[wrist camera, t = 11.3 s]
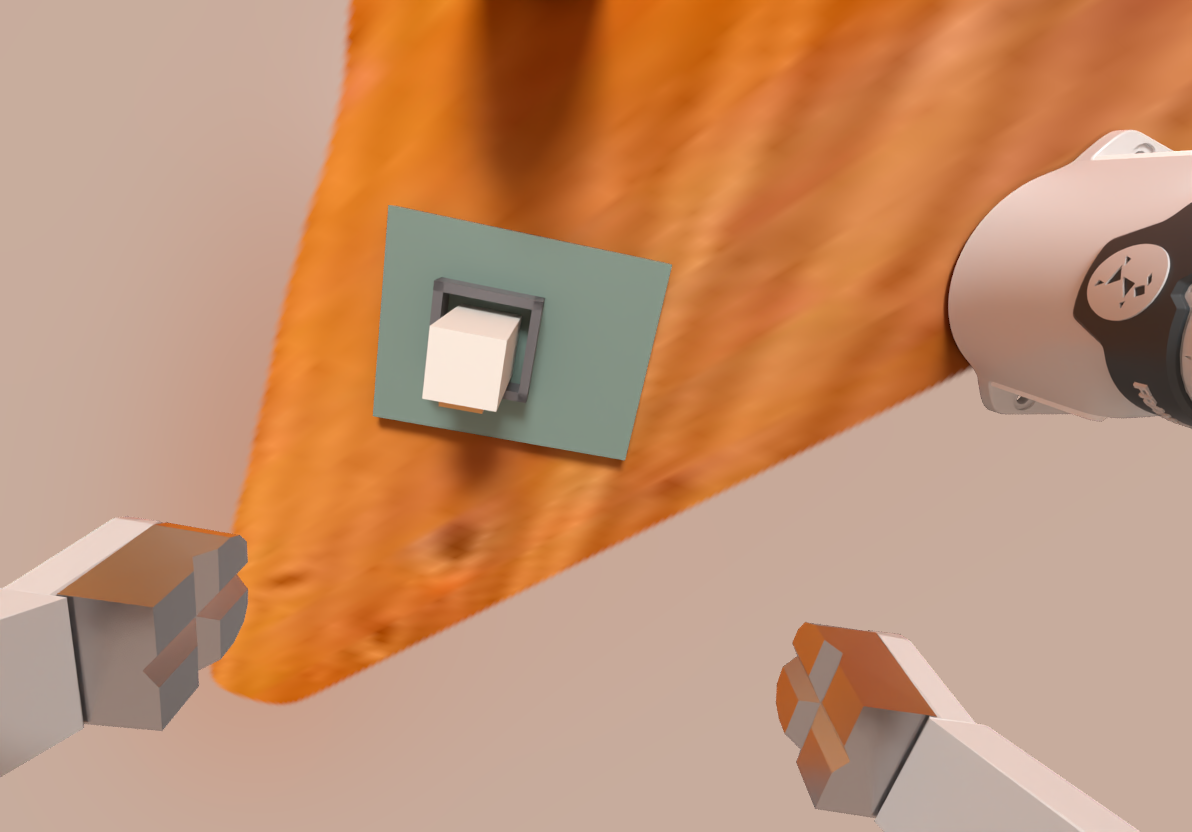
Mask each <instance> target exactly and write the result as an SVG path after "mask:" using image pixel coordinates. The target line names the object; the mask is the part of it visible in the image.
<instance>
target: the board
mask: <svg viewBox="0 0 1192 832" xmlns="http://www.w3.org/2000/svg"><path fill="white" fill-rule="evenodd" d="M671 267H672V265H671V264H668V263H664V262H659V261H654V260H650V259H645V258H640V257H635V256H631V255H626V254H621V253H616V252H612V251H607V250H602V249H597V248H593V247H588V246H583V245H579V244H574V243H569V242H564V241H560V240H555V239H550V238H545V237H541V236H536V235H531V234H527V233H522V232H517V231H512V230H508V229H503V228H498V227H493V226H489V225H484V224H479V223H475V222H470V221H465V220H460V219H456V218H451V217H446V216H441V215H437V214H432V213H427V212H423V211H418V210H413V209H408V208H404V207H399V206H393V205H389V206H388V220H387V233H386V247H385V260H384V274H383V287H382V301H381V314H380V327H379V341H378V354H377V368H376V381H375V395H374V408H373V416H375V417H381V418H387V419H392V420H398V421H404V422H409V423H415V424H421V425H426V426H432V427H438V428H443V429H449V430H455V431H460V432H466V433H472V434H478V435H483V436H489V437H495V438H500V439H506V440H512V441H517V442H523V443H529V444H534V445H540V446H546V447H551V448H557V449H563V450H569V451H574V452H580V453H586V454H591V455H597V456H603V457H608V458H614V459H620V460H625V458H626V454H627V450H628V446H629V442H630V438H631V433H632V429H633V425H634V421H635V417H636V413H637V409H638V404H639V400H640V396H641V392H642V388H643V384H644V379H645V375H646V371H647V367H648V363H649V359H650V355H651V350H652V346H653V342H654V338H655V334H656V330H657V326H658V321H659V317H660V313H661V309H662V305H663V301H664V296H665V292H666V288H667V284H668V280H669V276H670V272H671ZM460 304H466V305H471V306H476V307H481V308H486V309H491V310H496V311H502V312H507V313H512V314H517V315H522V319H521V326H520V332H519V338H518V344H517V351H516V357H515V363H514V370H513V374H512V377H511V379H510V381H509V384H508V386H507V388H506V390H505V393H504V395H503V397H502V400H501V402H500V404H499V407H498V409H497V411H496V412H494V411H488V410H484V411H483V413H482V414H480V413H474V412H469V411H463V410H457V409H452V408H446V407H441V406H439V402H438V401H433V400H427V399H422V395H423V386H424V376H425V366H426V357H427V347H428V338H429V328H430V325H432V324H433V323H434V322H436V321H437V320H439V319H440V318H442V317H443V316H444V315H446V314H447V313H449V312H450V311H451V310H453V309H454V308H456V307H457V306H458V305H460Z"/></svg>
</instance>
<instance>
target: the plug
mask: <svg viewBox="0 0 1192 832" xmlns="http://www.w3.org/2000/svg"><path fill="white" fill-rule="evenodd" d="M521 319H522V315H517V314H512V313H507V312H502V311H496V310H491V309H486V308H481V307H476V306H471V305H466V304H460V305H458V306H457V307H456V308H454V309H453V310H451V311H450V312H449V313H447V314H446V315H444V316H443V317H442V318H440V319H439V320H437V321H436V322H434V323H433V324H432V325H430V328H429V338H428V347H427V357H426V366H425V376H424V386H423V395H422V399H427V400H433V401H438V402H439V406H441V407H446V408H452V409H457V410H463V411H469V412H474V413H480V414H482V413H483V411H484V410H488V411H494V412H496V411H497V409H498V407H499V404H500V402H501V400H502V397H503V395H504V393H505V390H506V388H507V386H508V384H509V381H510V379H511V377H512V374H513V370H514V363H515V357H516V351H517V344H518V338H519V332H520V326H521Z"/></svg>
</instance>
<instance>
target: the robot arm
mask: <svg viewBox="0 0 1192 832" xmlns="http://www.w3.org/2000/svg"><path fill="white" fill-rule="evenodd" d="M948 312H949V322H950V327H951V331H952V334H953V337H954V340H955V342H956V344H957V346H958V348H959V350H960V351H961V353H962V354H963V356H964V357H965V358H966V360H967V361H968V362H969V363H970V365H971V366H972V367H973V369H974V370H975V372H976V374H977V376H978V384H979V389H980V395H981V399H982V402H983V404H984V406H985V407H986V408H987V409H989V410H991V411H994V412H997V413H1001V414H1074V415H1077V416H1080V417H1083V418H1086V419H1089V420H1094V421H1103V420H1104V419H1106V418H1107V417H1110V418H1136V417H1150V416H1162V417H1163V418H1165V419H1167V420H1168V421H1172V422H1173V423H1176V424H1179V425H1182V426H1185V427H1189V428H1192V150H1190V151H1173V150H1171V149H1169V148H1167V147H1166V146H1164V145H1162V144H1160V143H1158V142H1157V141H1155V140H1153V139H1151V138H1150V137H1148V136H1146V135H1144V134H1143V133H1141V132H1139V131H1136V130H1117V131H1113V132H1110V133H1108V134H1106V135H1105V136H1103V137H1102V138H1100V139H1099V140H1098V141H1096V142H1095V143H1094V144H1093V145H1091V146H1090V147H1089V148H1088V149H1087V150H1086V151H1085V152H1083V153H1082V154H1081V155H1080V156H1079V157H1078V158H1077V159H1076V160H1074V161H1073V162H1072V163H1070V164H1068V165H1066V166H1064V167H1062V168H1060V169H1058V170H1055V171H1053V172H1050V173H1048V174H1045V175H1043V176H1040V177H1038V178H1036V179H1034V180H1032V181H1030V182H1028V183H1026V184H1024V185H1023V186H1021V187H1020V188H1018V189H1016V190H1015V191H1014V192H1012V193H1011V194H1009V195H1008V196H1007V197H1005V198H1004V199H1003V200H1002V201H1001V202H999V203H998V204H997V205H996V206H995V207H994V208H993V209H992V210H991V211H990V212H989V213H988V214H987V215H986V217H985V218H984V219H983V220H982V221H981V222H980V224H979V225H978V226H977V228H976V229H975V230H974V232H973V233H972V235H971V236H970V238H969V239H968V241H967V243H966V245H965V246H964V248H963V250H962V252H961V254H960V257H959V259H958V261H957V264H956V267H955V269H954V273H953V276H952V280H951V285H950V291H949V300H948ZM1019 395H1020V396H1021V397H1020V398H1019V399H1018V400H1017V397H1018V396H1019ZM247 562H248V559H247V542H246V541H245V540H244V539H243V538H242V537H241V536H240V535H236V534H231V533H225V532H219V531H214V530H208V529H202V528H196V527H191V526H184V525H179V524H173V523H168V522H166V523H163V522H160V521H154V520H148V519H142V518H135V517H129V516H126V517H118V518H113V519H111V520H110V521H108V522H107V523H105V524H104V525H102V526H100V527H99V528H97V529H96V530H94V531H93V532H91V533H89V534H88V535H87V536H85V537H83V538H81V539H80V540H78V541H77V542H75V543H74V544H72V545H70V546H69V547H67V548H66V549H64V550H63V551H61V552H59V553H58V554H56V555H55V556H54V557H51V558H50V559H48V560H47V561H45V562H44V563H42V564H40V565H39V566H37V567H36V568H34V569H33V570H31V571H29V572H28V573H26V574H25V575H23V576H22V577H20V578H18V579H17V580H15V581H14V582H12V583H10V584H9V585H7V586H6V587H4V588H0V777H2V776H3V775H5V774H7V773H8V772H10V771H12V770H13V769H15V768H17V767H19V766H20V765H22V764H24V763H25V762H27V761H29V760H30V759H32V758H34V757H36V756H37V755H39V754H41V753H42V752H44V751H46V750H48V749H49V748H51V747H53V746H54V745H56V744H58V743H59V742H61V741H63V740H65V739H66V738H68V737H70V736H71V735H73V734H75V733H76V732H78V731H80V730H82V729H83V728H84V724H91V725H102V726H113V727H124V728H135V729H147V730H158V731H162V730H163V729H164V728H165V727H166V725H167V724H168V723H169V722H170V721H171V719H172V718H173V717H174V716H175V714H176V713H177V712H178V711H179V710H180V708H181V707H182V706H183V705H184V704H185V702H186V701H187V700H188V698H189V697H190V696H191V695H192V694H193V693H194V691H195V690H196V689H197V688H198V686H199V681H198V670H200V669H202V668H204V667H206V666H208V665H210V664H212V663H214V662H216V661H218V660H220V659H221V658H222V657H223V656H224V654H225V653H226V652H227V651H228V649H229V648H230V647H231V645H232V644H233V643H234V641H235V639H236V637H237V635H238V633H239V630H240V628H241V626H242V624H243V622H244V618H245V614H246V609H247V604H248V589H247V587H246V586H245V585H244V583H243V582H242V581H241V580H240V578H239V577H238V576H237V573H238V572H239V571H240V570H241V569H242V568H243V567H244V566H245V564H246V563H247ZM793 646H794V648H795V651H796V654H797V657H795V658H794V659H792V660H791V661H790V662H789V663H787V664H786V665H784V666H783V668H782V671H781V674H780V677H779V680H778V683H777V694H776V705H777V711H778V716H779V719H780V723H781V725H782V728H783V730H784V733H785V735H786V736H788V737H789V738H790V739H791V740H792V741H793V742H794V743H795V744H796V745H797V746H798V747H799V748H800V749H801V750H800V753H799V756H798V758H797V761H796V763H797V766H798V768H799V770H800V773H801V775H802V778H803V780H804V783H805V785H806V788H807V790H808V793H809V795H810V797H811V800H812V802H813V805H814V807H815V809H820V810H827V811H833V812H839V813H846V814H853V815H860V816H866V817H873V818H876V819H875V822H876V824H877V825H878V826H879V827H880V828H881V829H882V830H883V831H884V832H1140V831H1139V830H1137V829H1136V828H1135V827H1133V826H1132V825H1130V824H1129V823H1127V822H1126V821H1124V820H1123V819H1122V818H1120V817H1119V816H1117V815H1116V814H1114V813H1113V812H1111V811H1110V810H1109V809H1107V808H1106V807H1104V806H1102V805H1101V804H1100V803H1098V802H1097V801H1096V800H1094V799H1093V798H1091V797H1090V796H1088V795H1087V794H1085V793H1084V792H1083V791H1081V790H1080V789H1078V788H1077V787H1075V786H1074V785H1072V784H1071V783H1070V782H1068V781H1067V780H1065V779H1064V778H1062V777H1061V776H1059V775H1058V774H1057V773H1055V772H1054V771H1052V770H1051V769H1049V768H1048V767H1046V766H1045V765H1044V764H1042V763H1041V762H1039V761H1038V760H1036V759H1035V758H1033V757H1032V756H1031V755H1029V754H1028V753H1026V752H1025V751H1023V750H1022V749H1020V748H1019V747H1017V746H1016V745H1015V744H1013V743H1012V742H1010V741H1009V740H1008V739H1006V738H1005V737H1003V736H1002V735H1000V734H999V733H997V732H996V731H995V730H993V729H992V728H990V727H989V726H987V725H983V724H976V723H975V721H974V720H973V719H972V718H971V716H970V715H969V714H968V713H967V711H966V710H965V709H964V708H963V706H962V705H961V704H960V703H959V701H958V700H957V699H956V698H955V696H954V695H953V694H952V692H951V691H950V690H949V689H948V687H947V686H946V685H945V684H944V682H942V680H941V679H940V677H939V676H938V675H937V674H936V672H935V671H934V670H933V669H932V667H931V666H930V665H929V664H928V663H927V661H926V660H925V659H924V657H923V656H922V655H921V653H920V652H919V651H918V650H917V648H916V647H915V646H914V645H913V643H912V642H911V641H910V640H909V639H907V638H905V637H904V636H902V635H901V634H895V633H886V632H877V631H870V630H868V631H862V630H855V629H848V628H842V627H834V626H828V625H821V624H814V623H807V622H805V623H804V624H803V625H802V626H801V627H800V628H799V629H798V631H797V633H796V636H795V638H794V640H793Z"/></svg>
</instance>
